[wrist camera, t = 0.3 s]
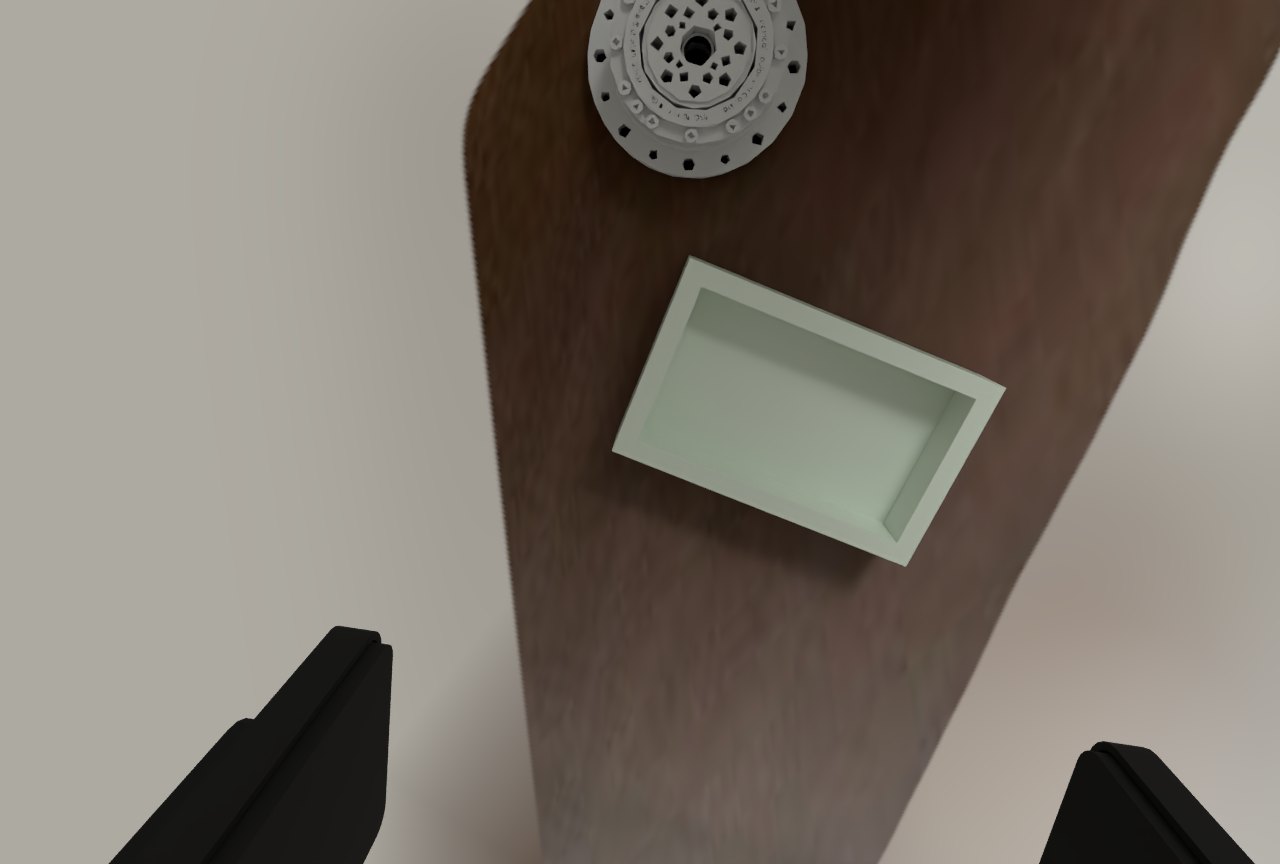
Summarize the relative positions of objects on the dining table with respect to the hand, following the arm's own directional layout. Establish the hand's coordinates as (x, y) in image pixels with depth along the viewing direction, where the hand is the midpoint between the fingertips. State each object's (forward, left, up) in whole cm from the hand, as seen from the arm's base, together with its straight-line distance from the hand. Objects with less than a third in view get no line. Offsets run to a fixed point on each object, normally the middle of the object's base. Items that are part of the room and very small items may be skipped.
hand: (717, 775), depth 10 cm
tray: (0, +6, -29) cm, 30 cm away
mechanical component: (-13, -5, -30) cm, 33 cm away
